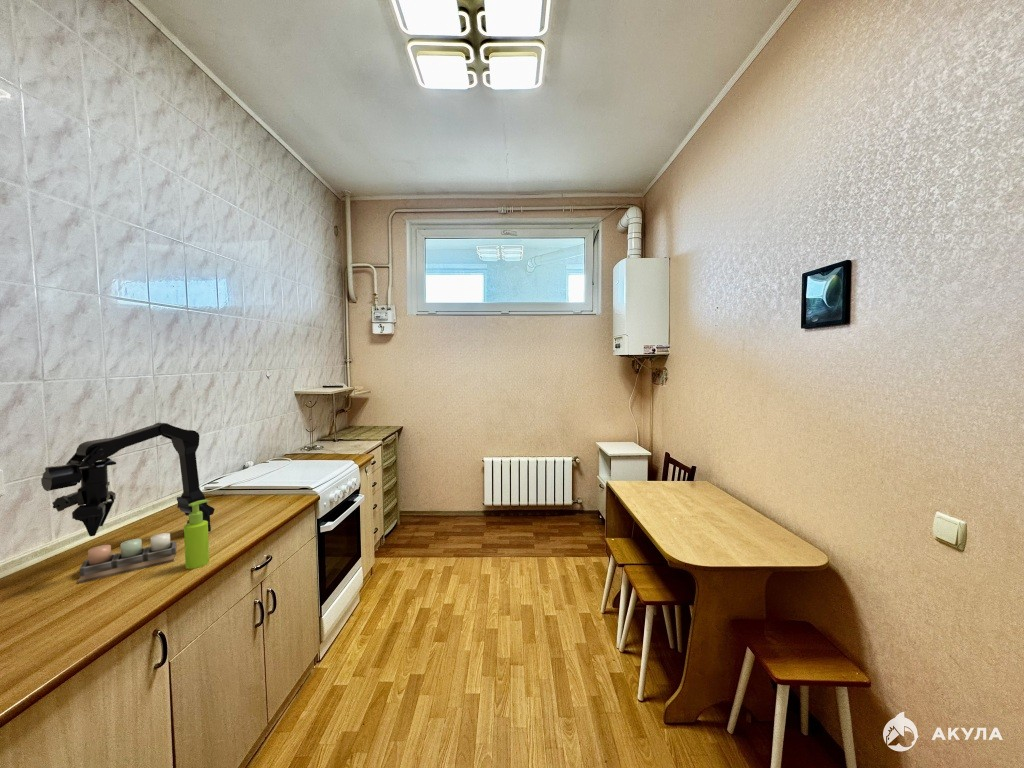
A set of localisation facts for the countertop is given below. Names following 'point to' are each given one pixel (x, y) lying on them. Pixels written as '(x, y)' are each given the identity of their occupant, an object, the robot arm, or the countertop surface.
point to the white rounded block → (160, 542)
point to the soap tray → (127, 563)
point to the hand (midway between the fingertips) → (96, 531)
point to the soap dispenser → (196, 538)
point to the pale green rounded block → (131, 548)
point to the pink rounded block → (99, 554)
